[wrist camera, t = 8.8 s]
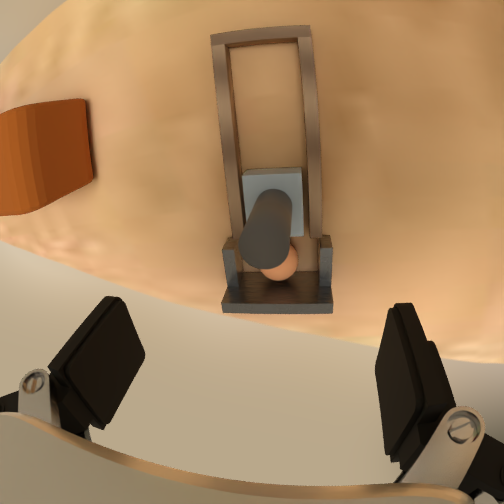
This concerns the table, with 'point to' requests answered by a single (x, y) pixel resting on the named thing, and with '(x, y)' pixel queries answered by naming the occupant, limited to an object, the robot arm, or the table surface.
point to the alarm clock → (42, 154)
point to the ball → (283, 267)
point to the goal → (278, 286)
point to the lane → (229, 125)
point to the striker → (271, 215)
